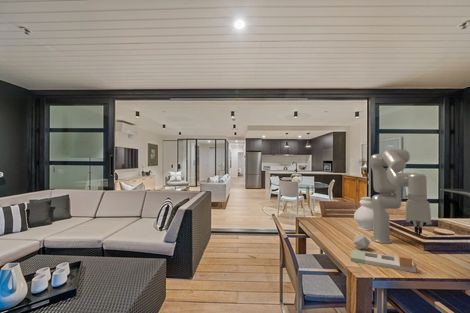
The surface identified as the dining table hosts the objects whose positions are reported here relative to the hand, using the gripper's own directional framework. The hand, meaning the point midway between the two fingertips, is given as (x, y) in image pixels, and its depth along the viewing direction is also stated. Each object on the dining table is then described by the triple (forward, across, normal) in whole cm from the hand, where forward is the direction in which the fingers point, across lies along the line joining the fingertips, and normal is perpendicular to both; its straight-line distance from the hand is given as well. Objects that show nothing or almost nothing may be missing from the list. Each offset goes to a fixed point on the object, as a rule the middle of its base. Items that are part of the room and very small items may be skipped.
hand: (418, 234), depth 121 cm
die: (+18, -29, +16) cm, 37 cm away
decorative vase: (+17, -35, +67) cm, 77 cm away
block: (+16, -6, -3) cm, 17 cm away
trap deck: (+18, -17, 0) cm, 24 cm away
